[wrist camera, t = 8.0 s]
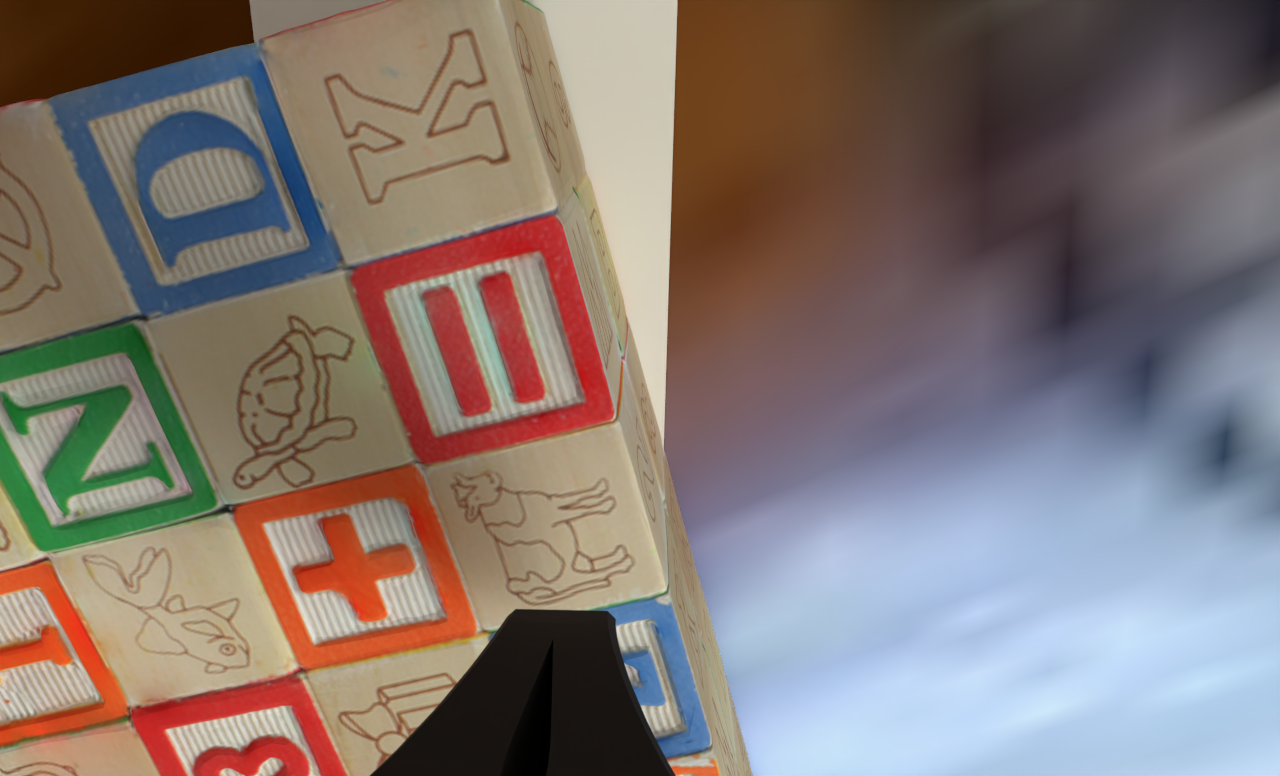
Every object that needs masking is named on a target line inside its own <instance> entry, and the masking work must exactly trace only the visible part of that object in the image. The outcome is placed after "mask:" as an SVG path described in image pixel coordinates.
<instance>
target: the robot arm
mask: <svg viewBox="0 0 1280 776" xmlns="http://www.w3.org/2000/svg"><path fill="white" fill-rule="evenodd" d="M370 776H676V775H675V774H674V772H673V770H672V768H671V767H670V765H669V763H668V761H667V759H666V757H665V755H664V754H663V752H662V750H661V748H660V746H659V744H658V742H657V740H656V738H655V736H654V734H653V732H652V730H651V728H650V726H649V724H648V722H647V720H646V718H645V715H644V713H643V711H642V708H641V706H640V704H639V701H638V699H637V696H636V694H635V692H634V689H633V687H632V684H631V682H630V679H629V676H628V674H627V671H626V667H625V664H624V661H623V658H622V655H621V651H620V647H619V643H618V638H617V632H616V619H615V618H614V617H613V616H612V615H611V614H610V613H609V612H608V611H592V610H544V609H515V610H514V611H513V612H512V613H510V614H509V615H508V616H507V617H506V619H505V620H504V622H503V623H502V625H501V626H500V628H499V629H498V631H497V632H496V633H495V635H494V636H493V638H492V639H491V640H490V642H489V643H488V644H487V646H486V647H485V648H484V650H483V651H482V652H481V654H480V655H479V656H478V658H477V659H476V660H475V661H474V663H473V664H472V665H471V667H470V668H469V669H468V670H467V672H466V673H465V674H464V675H463V676H462V678H461V679H460V680H459V681H458V682H457V684H456V685H455V686H454V687H453V688H452V690H451V691H450V692H449V693H448V694H447V696H446V697H445V698H444V699H443V700H442V701H441V703H440V704H439V705H438V706H437V707H436V708H435V709H434V711H433V712H432V713H431V714H430V715H429V716H428V717H427V718H426V719H425V720H424V721H423V722H422V723H421V724H420V725H419V727H418V728H417V729H416V730H415V731H414V732H413V733H412V734H411V735H410V736H409V737H408V738H407V739H406V740H405V741H404V742H403V743H402V744H401V745H400V747H399V748H398V749H397V750H396V751H395V752H394V753H393V754H392V755H391V756H390V757H389V758H388V759H386V760H385V761H384V762H383V763H382V764H381V765H380V766H379V767H378V768H377V769H376V770H375V771H374V772H373V773H372V774H371V775H370Z"/></svg>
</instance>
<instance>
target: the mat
mask: <svg viewBox="0 0 1280 776" xmlns="http://www.w3.org/2000/svg"><path fill="white" fill-rule="evenodd" d="M249 1H250V9H251V18H252V27H253V36H254V43H257V42H258V40H259V39H261V38H264V37H268V36H271V35H273V34H276V33H278V32H281V31H283V30H287V29H290V28H294V27H297V26H301V25H304V24H308V23H311V22H314V21H318V20H321V19H325V18H327V17H330V16H333V15H336V14H339V13H342V12H346V11H351V10H355V9H359V8H362V7H366V6H369V5H373V4H376V3H379V2H383V1H386V0H249ZM525 1H527V2H529V3H530V4H532V5H533V6H535V7H537V8H539V9H540V10H541V11H543V12H544V14H545V18H546V22H547V25H548V29H549V33H550V37H551V40H552V44H553V47H554V51H555V54H556V58H557V61H558V65H559V69H560V72H561V76H562V80H563V84H564V88H565V91H566V95H567V98H568V102H569V105H570V109H571V112H572V116H573V119H574V123H575V126H576V130H577V133H578V137H579V141H580V144H581V148H582V151H583V155H584V160H585V168H586V172H587V174H588V176H589V178H590V181H591V183H592V187H593V190H594V194H595V197H596V201H597V204H598V208H599V212H600V215H601V219H602V223H603V226H604V230H605V234H606V238H607V241H608V245H609V249H610V252H611V256H612V259H613V263H614V267H615V270H616V274H617V278H618V281H619V285H620V289H621V292H622V296H623V299H624V305H625V310H626V316H627V318H628V321H629V324H630V327H631V330H632V333H633V337H634V340H635V344H636V348H637V351H638V355H639V359H640V362H641V366H642V370H643V373H644V377H645V380H646V384H647V388H648V391H649V395H650V398H651V402H652V406H653V409H654V413H655V416H656V420H657V423H658V427H659V431H660V434H661V440H662V447H663V450H664V419H665V386H666V354H667V322H668V289H669V257H670V224H671V192H672V160H673V127H674V95H675V63H676V30H677V0H525Z"/></svg>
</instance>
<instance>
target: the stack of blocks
mask: <svg viewBox="0 0 1280 776" xmlns="http://www.w3.org/2000/svg"><path fill="white" fill-rule="evenodd" d="M515 609H544V610H592V611H608V612H609V613H610V614H611V615H612V616H613V617H614V618H615V619H616V632H617V638H618V643H619V647H620V651H621V655H622V658H623V661H624V664H625V667H626V671H627V674H628V676H629V679H630V682H631V684H632V687H633V689H634V692H635V694H636V696H637V699H638V701H639V704H640V706H641V708H642V711H643V713H644V715H645V718H646V720H647V722H648V724H649V726H650V728H651V730H652V732H653V734H654V736H655V738H656V740H657V742H658V744H659V746H660V748H661V750H662V752H663V754H664V755H665V757H666V759H667V761H668V763H669V765H670V767H671V768H672V770H673V772H674V774H675V775H676V776H753V773H752V771H751V767H750V762H749V758H748V755H747V751H746V747H745V744H744V740H743V737H742V733H741V729H740V726H739V722H738V719H737V715H736V711H735V708H734V704H733V700H732V697H731V693H730V689H729V686H728V682H727V678H726V676H725V674H724V669H723V663H722V659H721V655H720V652H719V648H718V644H717V641H716V637H715V633H714V629H713V626H712V622H711V619H710V615H709V611H708V608H707V604H706V601H705V597H704V594H703V590H702V587H701V583H700V580H699V576H698V574H697V571H696V568H695V563H694V559H693V555H692V552H691V548H690V545H689V541H688V537H687V534H686V530H685V527H684V523H683V519H682V515H681V512H680V508H679V505H678V502H677V498H676V494H675V490H674V486H673V482H672V478H671V474H670V470H669V466H668V462H667V458H666V455H665V452H664V450H663V447H662V440H661V434H660V431H659V427H658V423H657V420H656V416H655V413H654V409H653V406H652V402H651V398H650V395H649V391H648V388H647V384H646V380H645V377H644V373H643V370H642V366H641V362H640V359H639V355H638V351H637V348H636V344H635V340H634V337H633V333H632V330H631V327H630V324H629V321H628V318H627V316H626V310H625V305H624V299H623V296H622V292H621V289H620V285H619V281H618V278H617V274H616V270H615V267H614V263H613V259H612V256H611V252H610V249H609V245H608V241H607V238H606V234H605V230H604V226H603V223H602V219H601V215H600V212H599V208H598V204H597V201H596V197H595V194H594V190H593V187H592V183H591V181H590V178H589V176H588V174H587V172H586V168H585V160H584V155H583V151H582V148H581V144H580V141H579V137H578V133H577V130H576V126H575V123H574V119H573V116H572V112H571V109H570V105H569V102H568V98H567V95H566V91H565V88H564V84H563V80H562V76H561V72H560V69H559V65H558V61H557V58H556V54H555V51H554V47H553V44H552V40H551V37H550V33H549V29H548V25H547V22H546V18H545V14H544V12H543V11H541V10H540V9H539V8H537V7H535V6H533V5H532V4H530V3H529V2H527V1H525V0H386V1H383V2H379V3H376V4H373V5H369V6H366V7H362V8H359V9H355V10H351V11H346V12H342V13H339V14H336V15H333V16H330V17H327V18H325V19H321V20H318V21H314V22H311V23H308V24H304V25H301V26H297V27H294V28H290V29H287V30H283V31H281V32H278V33H276V34H273V35H271V36H268V37H264V38H261V39H259V40H258V42H257V43H252V44H247V45H241V46H236V47H232V48H228V49H224V50H220V51H217V52H213V53H209V54H205V55H202V56H198V57H194V58H190V59H187V60H183V61H179V62H175V63H172V64H168V65H164V66H161V67H157V68H153V69H150V70H146V71H143V72H139V73H136V74H132V75H128V76H125V77H121V78H118V79H114V80H111V81H107V82H103V83H100V84H96V85H92V86H89V87H85V88H81V89H78V90H74V91H70V92H67V93H63V94H59V95H56V96H53V97H51V98H49V99H32V100H27V101H22V102H18V103H13V104H9V105H5V106H2V107H0V776H370V775H371V774H372V773H373V772H374V771H375V770H376V769H377V768H378V767H379V766H380V765H381V764H382V763H383V762H384V761H385V760H386V759H388V758H389V757H390V756H391V755H392V754H393V753H394V752H395V751H396V750H397V749H398V748H399V747H400V745H401V744H402V743H403V742H404V741H405V740H406V739H407V738H408V737H409V736H410V735H411V734H412V733H413V732H414V731H415V730H416V729H417V728H418V727H419V725H420V724H421V723H422V722H423V721H424V720H425V719H426V718H427V717H428V716H429V715H430V714H431V713H432V712H433V711H434V709H435V708H436V707H437V706H438V705H439V704H440V703H441V701H442V700H443V699H444V698H445V697H446V696H447V694H448V693H449V692H450V691H451V690H452V688H453V687H454V686H455V685H456V684H457V682H458V681H459V680H460V679H461V678H462V676H463V675H464V674H465V673H466V672H467V670H468V669H469V668H470V667H471V665H472V664H473V663H474V661H475V660H476V659H477V658H478V656H479V655H480V654H481V652H482V651H483V650H484V648H485V647H486V646H487V644H488V643H489V642H490V640H491V639H492V638H493V636H494V635H495V633H496V632H497V631H498V629H499V628H500V626H501V625H502V623H503V622H504V620H505V619H506V617H507V616H508V615H509V614H510V613H512V612H513V611H514V610H515Z"/></svg>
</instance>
